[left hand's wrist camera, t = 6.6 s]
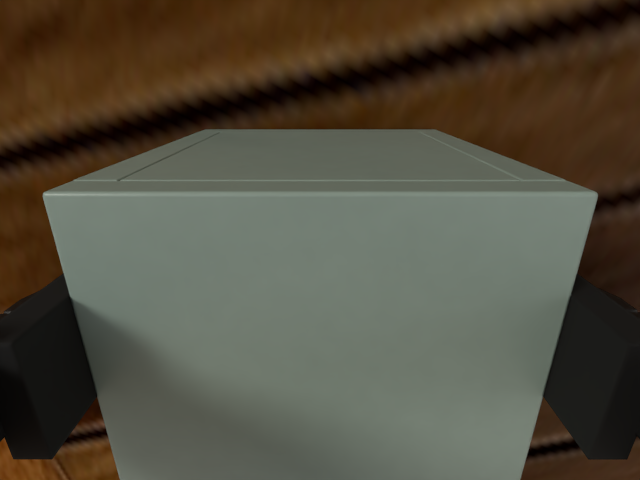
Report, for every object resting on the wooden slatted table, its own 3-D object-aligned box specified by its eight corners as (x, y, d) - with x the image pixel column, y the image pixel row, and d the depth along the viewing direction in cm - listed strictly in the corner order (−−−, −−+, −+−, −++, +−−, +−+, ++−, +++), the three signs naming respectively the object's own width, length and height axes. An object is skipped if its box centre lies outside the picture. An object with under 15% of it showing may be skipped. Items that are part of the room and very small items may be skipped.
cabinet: (406, 403, 23) (474, 653, 13) (233, 404, 23) (165, 653, 13) (436, 129, 18) (601, 192, 7) (204, 129, 18) (39, 192, 7)
